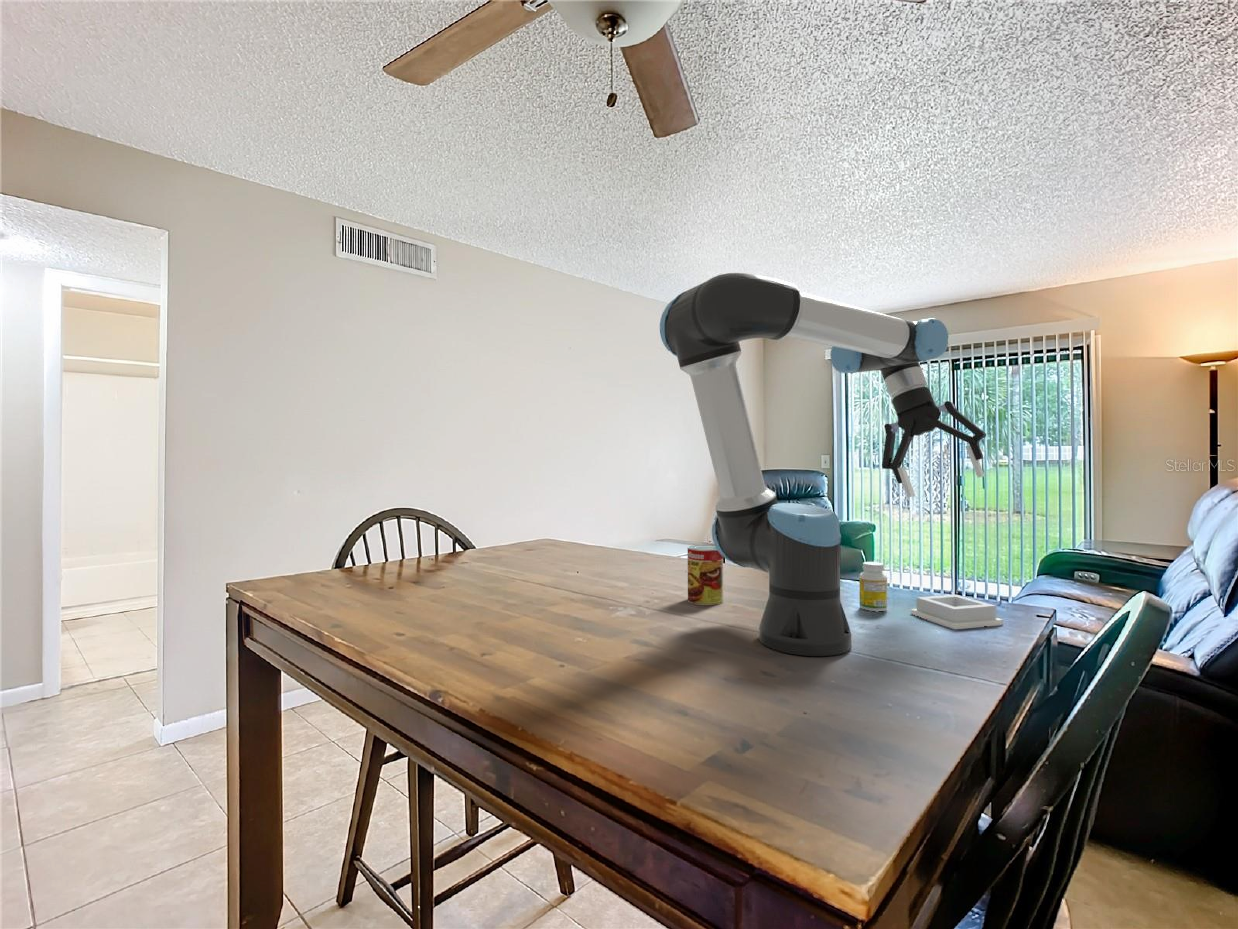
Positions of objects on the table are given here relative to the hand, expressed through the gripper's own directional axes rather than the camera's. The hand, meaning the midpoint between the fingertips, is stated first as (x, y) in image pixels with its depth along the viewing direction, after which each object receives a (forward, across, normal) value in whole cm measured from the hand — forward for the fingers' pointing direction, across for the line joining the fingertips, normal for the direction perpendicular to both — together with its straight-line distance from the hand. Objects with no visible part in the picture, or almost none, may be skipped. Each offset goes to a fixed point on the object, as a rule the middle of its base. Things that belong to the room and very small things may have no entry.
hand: (945, 487), depth 120 cm
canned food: (+11, +48, +25) cm, 55 cm away
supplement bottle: (+21, +19, +8) cm, 29 cm away
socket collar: (+25, +5, +6) cm, 26 cm away
